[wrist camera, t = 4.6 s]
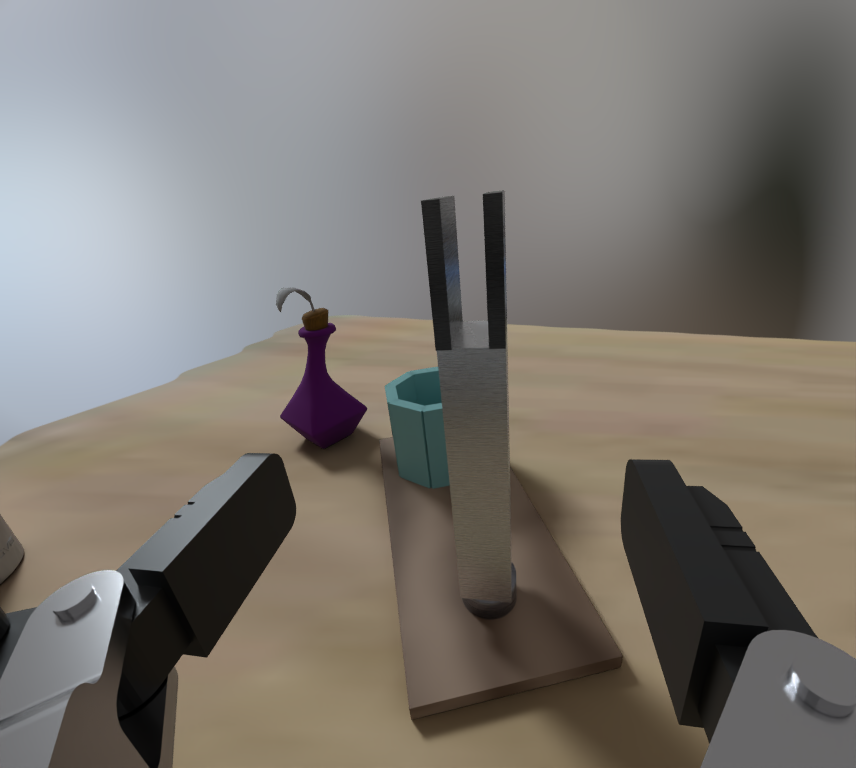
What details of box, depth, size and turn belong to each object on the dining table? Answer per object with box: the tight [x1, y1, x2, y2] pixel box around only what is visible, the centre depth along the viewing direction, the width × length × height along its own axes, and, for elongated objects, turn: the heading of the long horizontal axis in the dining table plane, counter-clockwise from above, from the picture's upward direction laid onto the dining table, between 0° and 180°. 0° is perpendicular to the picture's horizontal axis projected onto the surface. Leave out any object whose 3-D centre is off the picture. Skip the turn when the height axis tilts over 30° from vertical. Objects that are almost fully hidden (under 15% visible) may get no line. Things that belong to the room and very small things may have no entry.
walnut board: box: [379, 437, 623, 720], centre depth 35 cm, size 12×27×1 cm, turn 9°
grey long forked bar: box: [421, 191, 517, 620], centre depth 22 cm, size 4×4×24 cm
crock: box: [385, 367, 450, 489], centre depth 40 cm, size 9×9×8 cm
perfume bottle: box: [276, 288, 367, 449], centre depth 46 cm, size 8×8×18 cm
